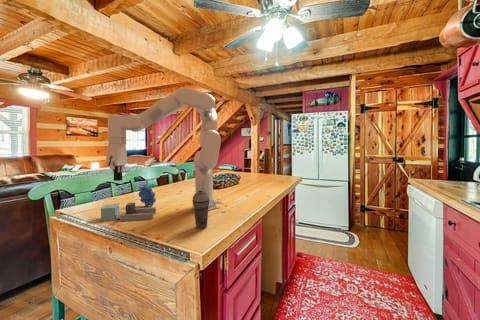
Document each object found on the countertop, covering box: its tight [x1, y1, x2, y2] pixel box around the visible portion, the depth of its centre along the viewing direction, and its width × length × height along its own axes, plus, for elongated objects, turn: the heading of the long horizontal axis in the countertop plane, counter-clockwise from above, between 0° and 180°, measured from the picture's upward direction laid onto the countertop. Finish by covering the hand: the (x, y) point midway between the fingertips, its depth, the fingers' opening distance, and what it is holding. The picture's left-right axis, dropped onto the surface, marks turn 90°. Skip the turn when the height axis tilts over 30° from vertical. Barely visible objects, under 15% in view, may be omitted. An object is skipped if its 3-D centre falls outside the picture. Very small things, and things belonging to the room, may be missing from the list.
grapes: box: [138, 184, 157, 207], centre depth 128 cm, size 12×7×12 cm, turn 70°
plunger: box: [116, 201, 136, 220], centre depth 109 cm, size 8×5×6 cm, turn 102°
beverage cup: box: [192, 180, 210, 230], centre depth 96 cm, size 7×7×20 cm
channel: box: [120, 206, 157, 222], centre depth 111 cm, size 14×11×3 cm
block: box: [100, 203, 120, 222], centre depth 108 cm, size 6×6×6 cm
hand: (118, 180), depth 108 cm, fingers closed
